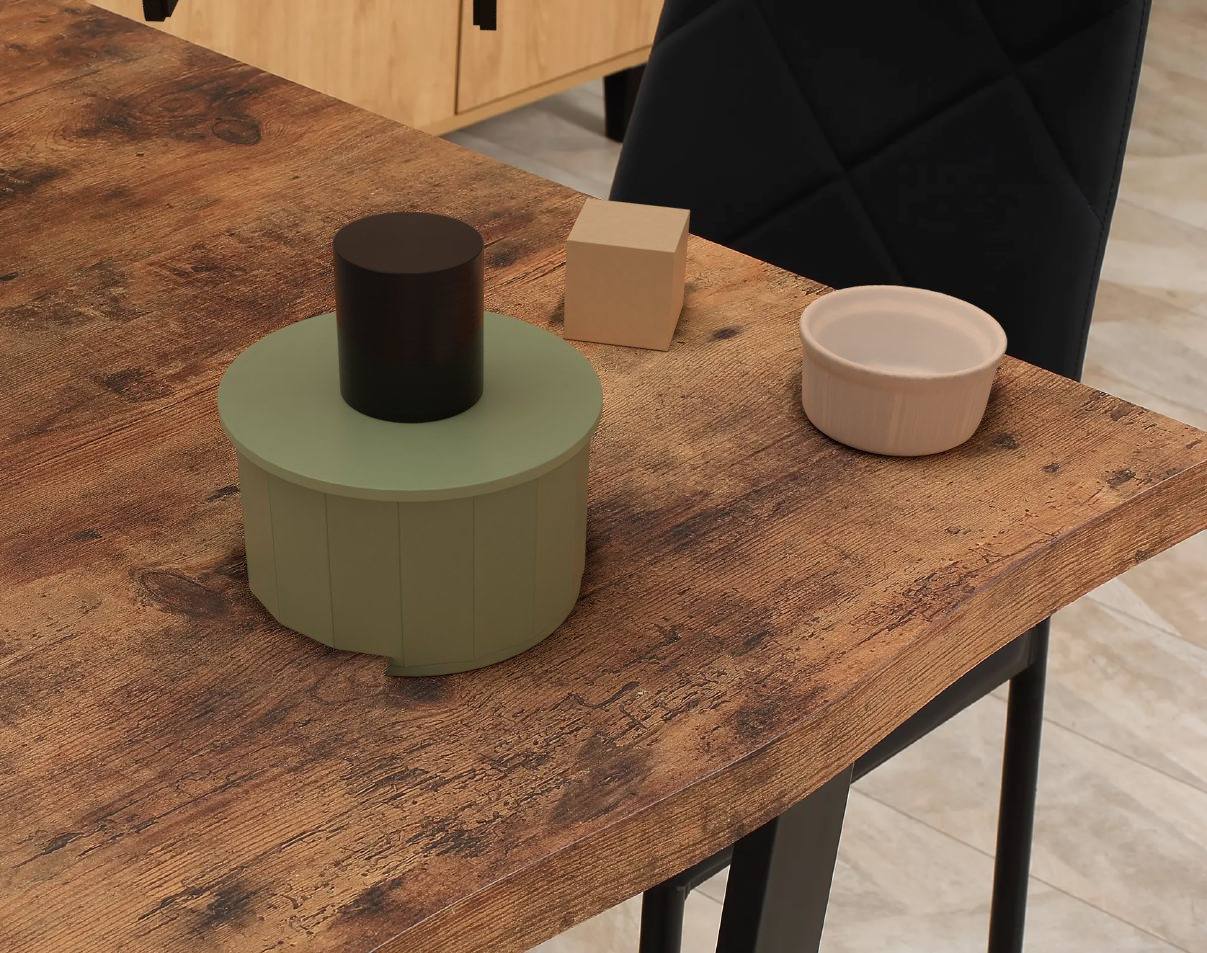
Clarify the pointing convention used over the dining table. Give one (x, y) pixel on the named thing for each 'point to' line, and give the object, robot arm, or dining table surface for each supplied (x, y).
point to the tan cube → (625, 274)
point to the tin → (419, 567)
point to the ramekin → (897, 368)
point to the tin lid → (409, 377)
